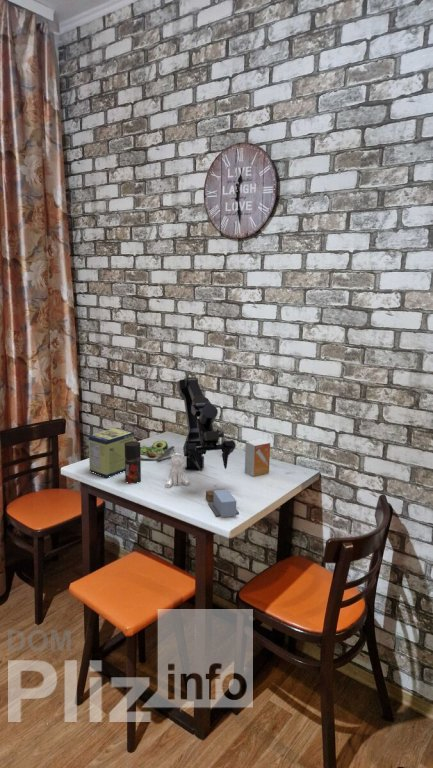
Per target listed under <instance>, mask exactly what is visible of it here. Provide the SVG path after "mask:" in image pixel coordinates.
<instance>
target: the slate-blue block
mask: <svg viewBox="0 0 433 768" xmlns="http://www.w3.org/2000/svg"><path fill="white" fill-rule="evenodd" d="M224 489H225V490H217V489H214V490H215V491H214V494H213V504H214V506H215V507H216V509H217V510H218V512H219V513H220V515H221V516H220V517H222V518H223V517H231V516H237V515H236V509H237V500H236V497H234V496H233V494H232V493H231V492H230V490H229V489H227V488H224Z"/></svg>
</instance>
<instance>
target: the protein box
mask: <svg viewBox="0 0 433 768" xmlns="http://www.w3.org/2000/svg"><path fill="white" fill-rule="evenodd" d="M130 441H135V432H134V431H131V430H127V429H124V428H120V427H113V428H110V429H107V430H104V431H100V432H97V433H94V434H89V436H88V452H89V453H88V455H89V456H88V458H89V460H88V461H89V462H88V463H89V472H90V471H91V472H94V473H96V474H99V475H101V476H100V477H102V476H104V477H103V478H105V477H109V476H112V475H114V476H116V475H115V474H117V475H119V474H121V473H120V472H122V473H124V472H123V471H125V443H126V442H130ZM118 473H119V474H118ZM96 474H95V475H96ZM99 475H98V476H99ZM112 477H113V476H112ZM109 478H110V477H109Z"/></svg>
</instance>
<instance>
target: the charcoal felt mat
mask: <svg viewBox="0 0 433 768" xmlns="http://www.w3.org/2000/svg"><path fill="white" fill-rule="evenodd" d="M207 505H208V507H209V508H210V509H211V511H212V513H213V514H214V516H215V517H216V518H218V517H222V516H221V515H220V513H219V512H218V510H217V509H216V507H215V506H214V504H213V502H211V503H207ZM237 515H240V512H239V511H238V509H237V508H236V515H235V516H237Z"/></svg>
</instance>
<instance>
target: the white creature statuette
mask: <svg viewBox="0 0 433 768" xmlns="http://www.w3.org/2000/svg"><path fill="white" fill-rule="evenodd" d="M169 458H171V462H172V463H171V464H172V465H171V466H170V470H169V474H168V479H167V480H166V482H165V486H164V487H165V488H166V489H170V488H171V487H177V486H178V487H180V486H182V487H183V486H185V487H187V488H188V487H190V486H191V481H190V479H188V478H187V477H186V476H185V475H184V473H183V472H184V470H183V467H182V464H183V463H184V458H185V456H184V454H183V455H182V453H180V452H176V453H173V455H170V457H169ZM167 487H168V488H167Z"/></svg>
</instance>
